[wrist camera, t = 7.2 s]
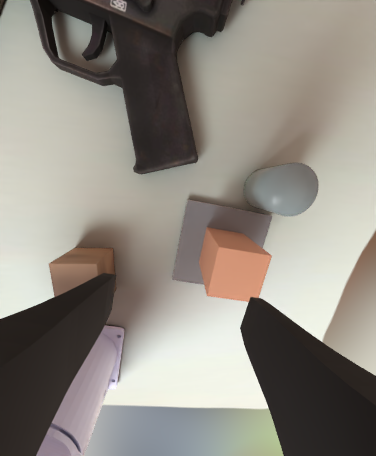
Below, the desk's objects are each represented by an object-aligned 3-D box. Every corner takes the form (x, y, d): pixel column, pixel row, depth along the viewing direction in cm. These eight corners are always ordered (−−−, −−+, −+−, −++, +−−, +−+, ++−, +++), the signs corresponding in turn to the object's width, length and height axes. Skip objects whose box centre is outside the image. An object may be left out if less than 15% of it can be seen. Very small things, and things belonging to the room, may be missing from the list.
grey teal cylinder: (274, 211, 19) (307, 220, 14) (239, 204, 19) (260, 211, 14) (286, 173, 18) (326, 168, 13) (249, 165, 18) (276, 157, 13)
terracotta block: (233, 267, 20) (256, 302, 14) (198, 262, 19) (207, 295, 13) (243, 233, 19) (271, 255, 13) (206, 227, 18) (218, 247, 13)
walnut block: (116, 288, 20) (101, 312, 17) (80, 288, 20) (57, 313, 16) (113, 247, 19) (96, 263, 15) (75, 247, 19) (48, 263, 15)
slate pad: (247, 288, 21) (249, 291, 20) (172, 277, 20) (172, 279, 20) (269, 214, 19) (272, 216, 18) (187, 199, 18) (187, 199, 18)
